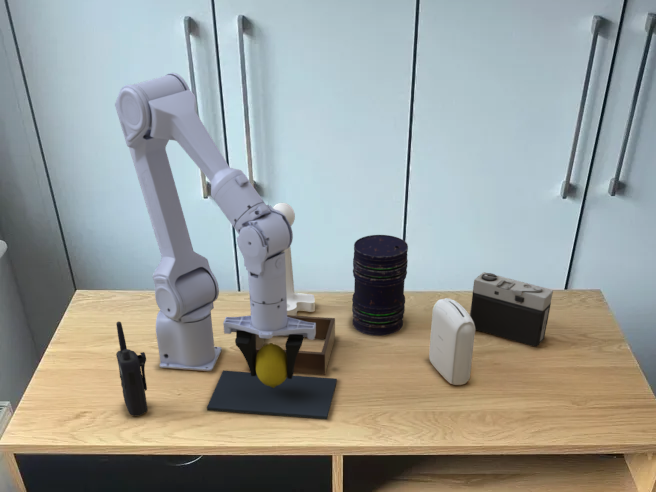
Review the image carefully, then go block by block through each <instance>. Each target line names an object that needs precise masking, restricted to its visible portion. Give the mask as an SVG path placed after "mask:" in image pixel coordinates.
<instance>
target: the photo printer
mask: <svg viewBox="0 0 656 492" xmlns="http://www.w3.org/2000/svg"><path fill="white" fill-rule="evenodd" d="M431 314H432V315H431V324H430V325H431V326H430V340H429V351H428V358H429V362H430V364H432V366H433V368H434V369H435V370H436V371H437V372H438V373H439V374H440V376H442V377H443V378H444V379H445V380H446V381H447V382H448V383H449V384H450V385H453V386H461V385H465V384H467V383H468V381H470V378H471V374H472V373H471V372H472V362H473V355H474V354H473V353H474V345H475V338H476V337H475V336H476V330H475V325H474V322H473V320H472V318H471V316H470V312H468V311H467V309H466V308H465V307H464V306H463V305H462V304H461V303H459V302H458V301H457V300H454V299H452V298H449V297H445V298H440V299H438V300H437V301H436V302H435V303H434V306H433V307H432V313H431Z"/></svg>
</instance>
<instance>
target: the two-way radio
mask: <svg viewBox="0 0 656 492" xmlns="http://www.w3.org/2000/svg"><path fill="white" fill-rule="evenodd" d="M116 331H117V338H118V344H119V350H117V351H116V355H115V356H116V359H117V365H118V372H119V379H120V384H121V388H122V395H123V400H124V404H125V407H126V409H127V412H128V414H129V415H130V416H132V417H140V416H143V415H144V414H145V413H146V412H147V411H148V403H147V396H146V391H148V387H147V386H148V385H147V380H146V370H145V369H146V368H145V367H146V362H147V356H146V353H145V352H144V351H141V352H139V354H137V353H136V352H135V351H134V350H131V349H129V348H127V343H126V337H125V333H124V328H123V324H122V322H121V321H117V322H116Z"/></svg>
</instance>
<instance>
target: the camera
mask: <svg viewBox="0 0 656 492" xmlns="http://www.w3.org/2000/svg"><path fill="white" fill-rule="evenodd" d="M472 285H473V286H472V295H471V304H470V311H469V315H470V316H471V318H472V320H473V322H474V325H475V331H477V332H478V331H479V332H482V333H486V334H489V335H492V336H496V337H500V338H502V339H506V340H510V341H514V342H517V343H520V344H524V345H527V346H531V347H534V348H537V347H538V346H539V345H540V344H541V343H542V342H543V341H544V340H545V335H546V331H547V327H548V326H547V325H548V320H549V317H550V316H549V315H550V311H551V305H552V299H553V293H554V290H553V289H551V288H549V287H544V286H539V285H535V284H531V283H528V282H525V281H520V280H516V279H513V278H510V277H509V278H508V277H505V276H501V275H497V274H495V273H492V272H484V271H483V272H481V273H480V274H479V275H478V276H477V277H476V278H474V279H473V284H472Z"/></svg>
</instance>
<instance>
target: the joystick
mask: <svg viewBox="0 0 656 492" xmlns="http://www.w3.org/2000/svg"><path fill="white" fill-rule="evenodd" d="M272 208H273V209H275V210H278V211H280V212H282V213H283V214H284V215H285V216H286V218H287V220H288V221H289V223H290V225H291V227H292V225H293V224H294V222H295V220H296V213H295V211H294V209H293V207H292V206H291V205H290V204H288V203H287V202H279V203H276V204H275V205H274V206H272ZM291 249H292V247H291V246H290V247H289V248H288V249H286V250H285V251H283V252H285V266H286V294H287V315H293V316H298V312H299V311H300V312H301V311H302V312H303V311H304V312H309V313H313V312H316V300H315V295H314V294H311V293H301V292H295V284H294V283H295V281H294V272H293V261H292V259H293V258H292V250H291Z"/></svg>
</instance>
